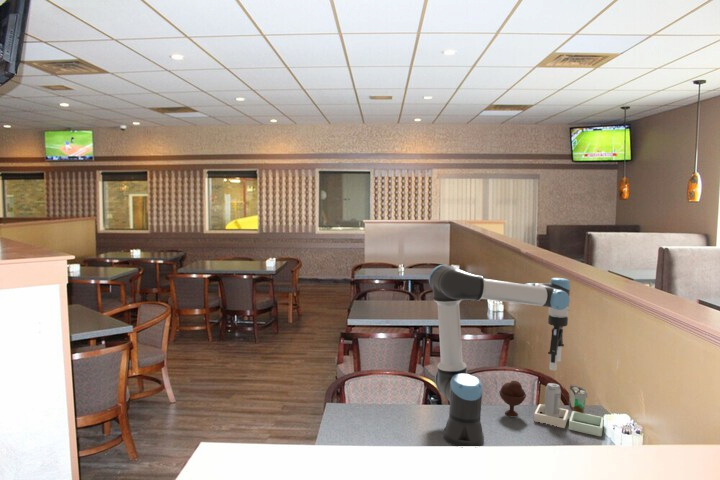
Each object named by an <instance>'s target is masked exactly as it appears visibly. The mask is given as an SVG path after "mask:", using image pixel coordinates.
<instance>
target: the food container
mask: <svg viewBox="0 0 720 480" xmlns="http://www.w3.org/2000/svg"><path fill="white" fill-rule="evenodd" d="M588 397H589V396H588V392H587V390H586V389H585V388H583V386H582V387H581V386H578V385H575V384H573V385H572V384H569V397H568V398H569V399H568V400H569V401H568V407H569V411H571V413H572V411H576V412H580V413H585V412H584V411H585V404H586V399H587V398H588Z"/></svg>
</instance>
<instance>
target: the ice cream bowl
mask: <svg viewBox="0 0 720 480" xmlns="http://www.w3.org/2000/svg"><path fill="white" fill-rule="evenodd" d="M499 396H500V398H501V400H502V401H504V403H505V404H506V405H508V406H509V409H508V410H506V411H505V412H504V414H505V416H507V417H511V416H517V417H518V416H519V414H518V412H517V411H515V407H516V406H519V405H520V404H522V403H523V402H524V401H525V399H526V397H527V394H526V391H525V390H524V388H523V387H522V384H521V382H519V381H517V380H511V381H510V382H505V383H504V384H502V386H501V388H500V390H499Z"/></svg>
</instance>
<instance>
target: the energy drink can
mask: <svg viewBox="0 0 720 480" xmlns="http://www.w3.org/2000/svg"><path fill="white" fill-rule="evenodd" d="M561 395H562V389H561V387H560V384H557V383H554V382H548V383H547V384H546V386H545V393H544V404H543V405H544V413H543V415H548V416H552V417H557V418H560V417H559V412H560V408H561V407H560V406H561V397H562V396H561Z"/></svg>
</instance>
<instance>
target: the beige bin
mask: <svg viewBox="0 0 720 480" xmlns="http://www.w3.org/2000/svg"><path fill="white" fill-rule="evenodd" d="M544 405H545V404H541V403H539V404H538V405H537V407H536V409H535V411H534V415H533V416H534V417H533V421H535V423H538V422H540V423H539V424H543V423H546V424H545V425H547V424H550V425H549V426H552V425H554V426H553V427H556V426H557V427H558V428H561V429H566V425H567V422H568V421H569V411H570V409H567V408H566V409H565V408H561V407H560V412H559V418H557V417H552V416H548V415H544ZM540 412H543V413H540Z"/></svg>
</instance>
